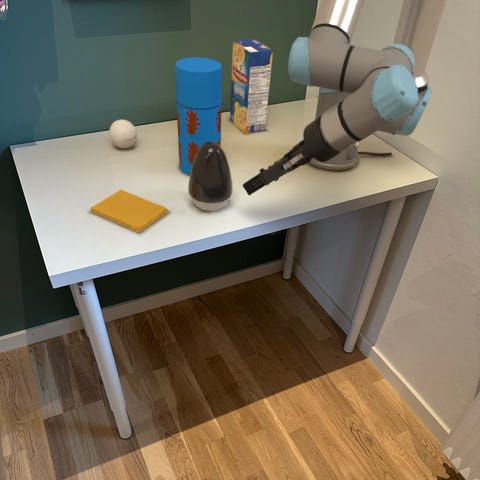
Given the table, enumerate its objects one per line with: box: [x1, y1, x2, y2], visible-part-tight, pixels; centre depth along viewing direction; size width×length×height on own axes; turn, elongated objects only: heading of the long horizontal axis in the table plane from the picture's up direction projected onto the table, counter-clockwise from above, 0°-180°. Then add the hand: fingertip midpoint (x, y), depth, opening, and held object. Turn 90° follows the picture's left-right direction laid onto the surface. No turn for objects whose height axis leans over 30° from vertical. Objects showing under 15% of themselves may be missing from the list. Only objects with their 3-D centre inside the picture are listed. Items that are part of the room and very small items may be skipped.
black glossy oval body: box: [187, 142, 233, 212], centre depth 106 cm, size 10×10×15 cm
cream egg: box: [108, 119, 138, 149], centre depth 128 cm, size 10×7×7 cm
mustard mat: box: [90, 189, 169, 234], centre depth 107 cm, size 14×10×1 cm
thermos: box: [174, 56, 223, 177], centre depth 115 cm, size 11×11×25 cm
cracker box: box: [229, 38, 274, 135], centre depth 137 cm, size 7×11×22 cm, turn 26°
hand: (247, 189), depth 102 cm, fingers closed
